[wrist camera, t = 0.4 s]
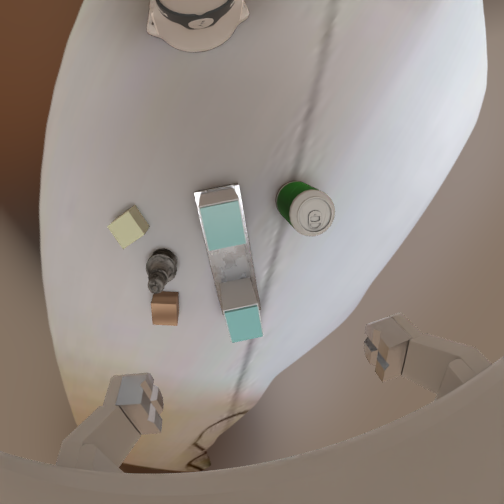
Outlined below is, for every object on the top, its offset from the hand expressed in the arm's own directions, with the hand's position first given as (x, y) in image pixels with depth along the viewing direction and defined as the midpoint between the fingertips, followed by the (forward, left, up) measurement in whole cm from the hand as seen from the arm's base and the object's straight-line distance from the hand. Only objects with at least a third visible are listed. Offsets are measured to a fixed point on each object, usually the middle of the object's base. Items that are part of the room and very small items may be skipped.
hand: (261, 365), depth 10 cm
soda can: (+6, +13, -46) cm, 48 cm away
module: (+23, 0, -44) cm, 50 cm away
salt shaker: (+13, -14, -46) cm, 49 cm away
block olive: (+4, -18, -45) cm, 49 cm away
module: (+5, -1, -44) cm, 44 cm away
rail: (+14, -1, -45) cm, 47 cm away
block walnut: (+22, -16, -45) cm, 53 cm away
